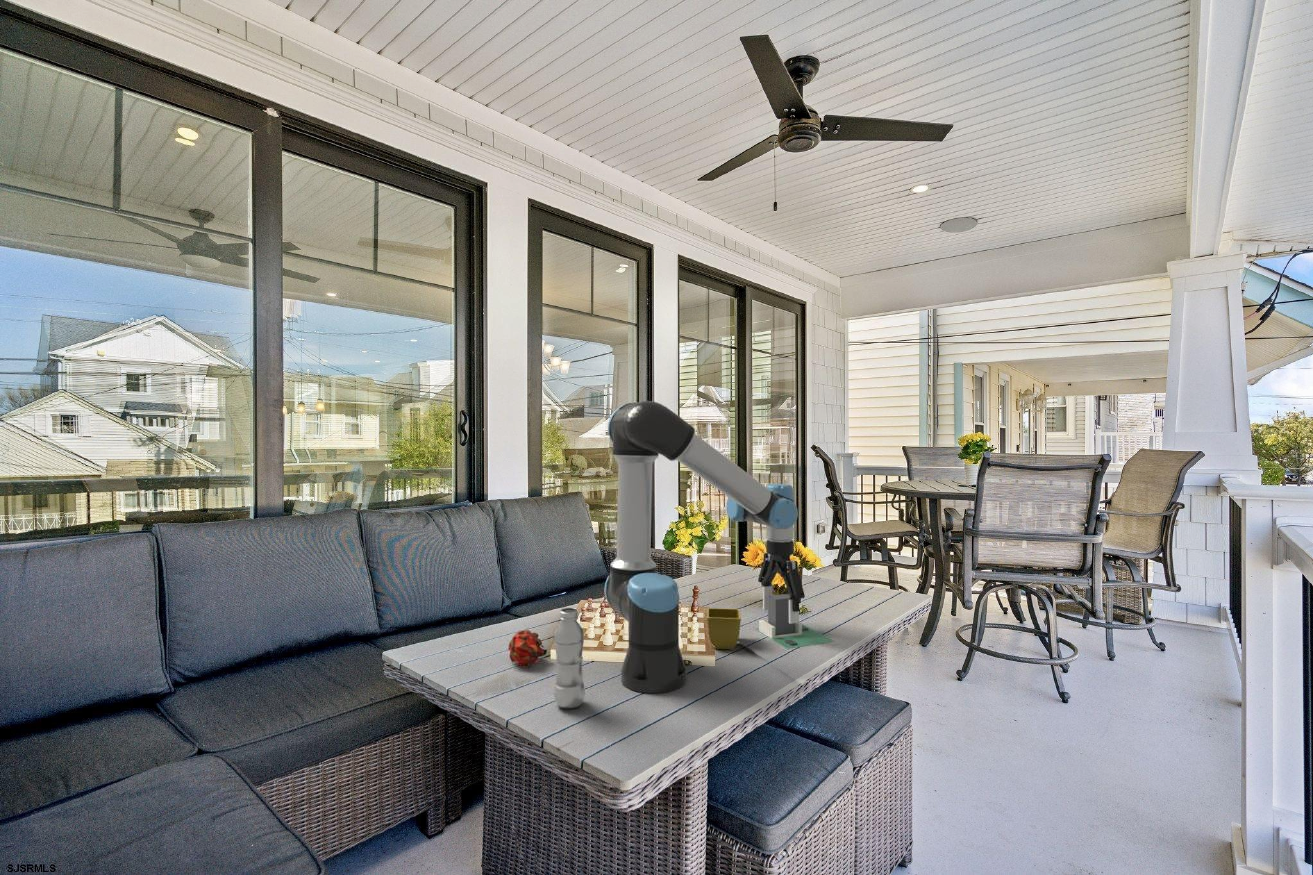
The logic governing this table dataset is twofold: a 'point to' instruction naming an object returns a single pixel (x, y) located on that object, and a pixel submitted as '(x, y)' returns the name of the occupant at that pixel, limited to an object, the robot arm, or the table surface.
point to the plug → (780, 614)
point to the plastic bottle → (569, 660)
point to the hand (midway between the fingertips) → (780, 615)
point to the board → (794, 636)
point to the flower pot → (723, 627)
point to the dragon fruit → (526, 648)
